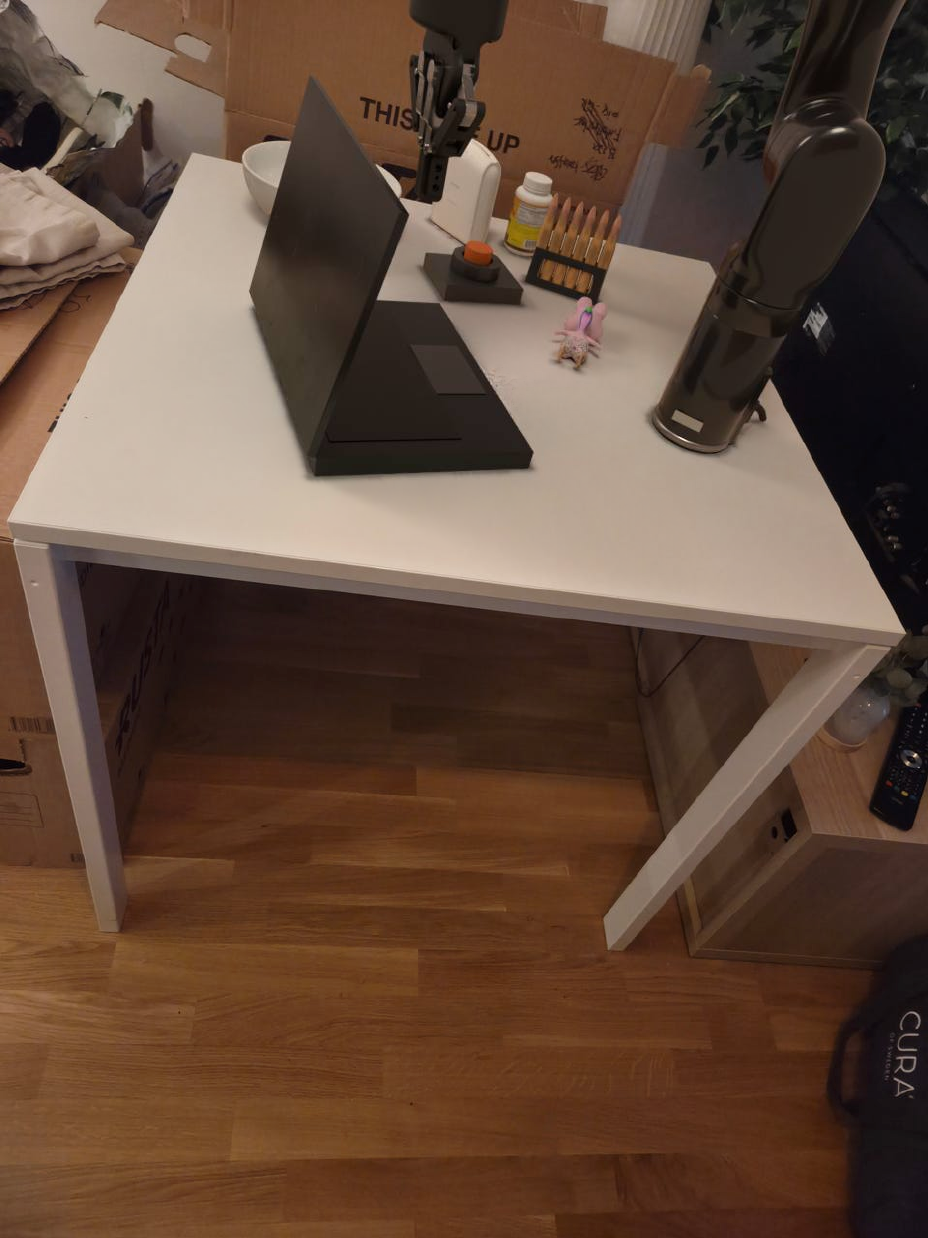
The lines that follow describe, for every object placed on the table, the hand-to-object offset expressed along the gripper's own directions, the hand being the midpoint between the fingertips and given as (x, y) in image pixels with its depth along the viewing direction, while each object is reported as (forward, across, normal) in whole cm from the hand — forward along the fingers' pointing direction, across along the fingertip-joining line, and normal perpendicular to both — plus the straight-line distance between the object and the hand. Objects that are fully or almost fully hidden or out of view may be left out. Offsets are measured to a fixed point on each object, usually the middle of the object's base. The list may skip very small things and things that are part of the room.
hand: (427, 197), depth 71 cm
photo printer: (+20, +41, -22) cm, 51 cm away
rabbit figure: (+20, +10, -28) cm, 36 cm away
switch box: (+20, +24, -18) cm, 36 cm away
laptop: (+19, 0, +1) cm, 19 cm away
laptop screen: (+7, 0, +9) cm, 12 cm away
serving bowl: (+19, +40, -1) cm, 45 cm away
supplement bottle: (+20, +37, -31) cm, 52 cm away
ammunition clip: (+20, +24, -32) cm, 45 cm away
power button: (+16, +24, -18) cm, 34 cm away
